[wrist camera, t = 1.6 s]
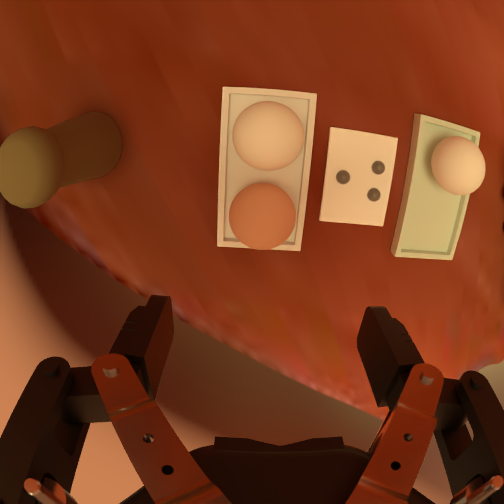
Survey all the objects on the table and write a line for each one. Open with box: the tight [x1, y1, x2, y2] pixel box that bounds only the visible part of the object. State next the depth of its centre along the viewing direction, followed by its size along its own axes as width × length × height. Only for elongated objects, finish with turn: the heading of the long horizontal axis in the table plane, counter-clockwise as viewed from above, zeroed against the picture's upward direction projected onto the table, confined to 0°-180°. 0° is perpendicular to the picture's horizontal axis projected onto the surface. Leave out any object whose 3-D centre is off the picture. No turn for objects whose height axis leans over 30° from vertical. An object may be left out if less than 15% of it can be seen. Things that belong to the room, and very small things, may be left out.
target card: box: [319, 127, 398, 226], centre depth 25 cm, size 8×6×1 cm
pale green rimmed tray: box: [390, 113, 480, 260], centre depth 25 cm, size 13×7×1 cm, turn 177°
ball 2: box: [229, 183, 296, 250], centre depth 24 cm, size 5×5×5 cm
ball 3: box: [431, 136, 485, 195], centre depth 21 cm, size 5×5×5 cm
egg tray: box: [217, 87, 317, 251], centre depth 24 cm, size 13×7×1 cm, turn 177°
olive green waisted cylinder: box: [0, 111, 122, 208], centre depth 19 cm, size 6×6×11 cm
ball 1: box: [232, 101, 304, 171], centre depth 21 cm, size 5×5×5 cm
